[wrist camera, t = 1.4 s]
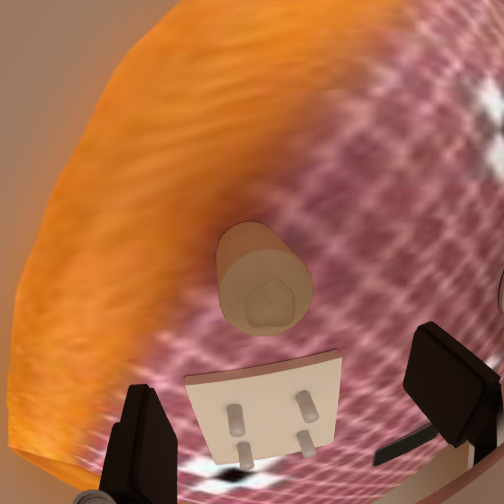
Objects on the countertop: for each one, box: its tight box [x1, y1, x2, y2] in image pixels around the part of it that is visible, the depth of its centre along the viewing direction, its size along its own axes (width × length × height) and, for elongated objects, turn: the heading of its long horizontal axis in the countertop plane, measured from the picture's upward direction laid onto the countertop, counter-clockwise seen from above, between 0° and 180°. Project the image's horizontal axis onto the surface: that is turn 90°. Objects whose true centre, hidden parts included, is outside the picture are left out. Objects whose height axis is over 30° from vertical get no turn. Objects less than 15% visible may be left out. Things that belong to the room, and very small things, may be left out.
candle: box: [216, 222, 313, 336], centre depth 20 cm, size 6×6×10 cm
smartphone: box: [372, 422, 439, 466], centre depth 39 cm, size 7×1×15 cm
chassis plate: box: [185, 349, 342, 470], centre depth 28 cm, size 16×16×5 cm
